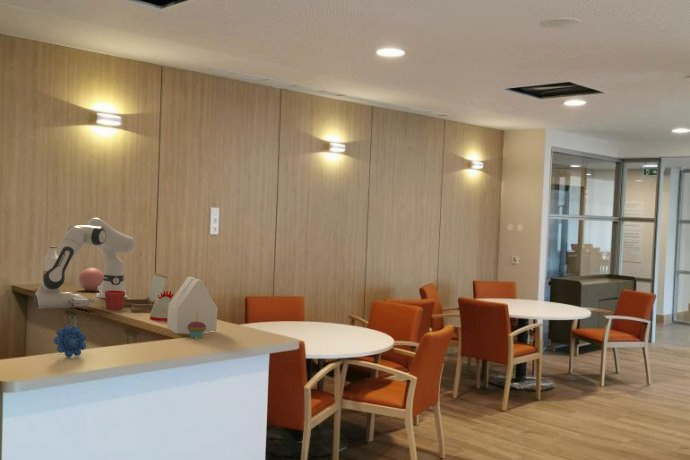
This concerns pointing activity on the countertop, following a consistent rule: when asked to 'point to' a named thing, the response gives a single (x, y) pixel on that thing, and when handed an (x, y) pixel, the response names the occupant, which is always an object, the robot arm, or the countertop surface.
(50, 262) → the fruit juice
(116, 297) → the flower pot
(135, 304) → the cold frame
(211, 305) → the white house-shaped block
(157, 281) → the frame lid
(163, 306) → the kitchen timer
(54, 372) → the countertop surface
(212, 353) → the countertop surface
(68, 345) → the blue flower
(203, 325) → the cupcake
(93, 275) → the pink egg shape
